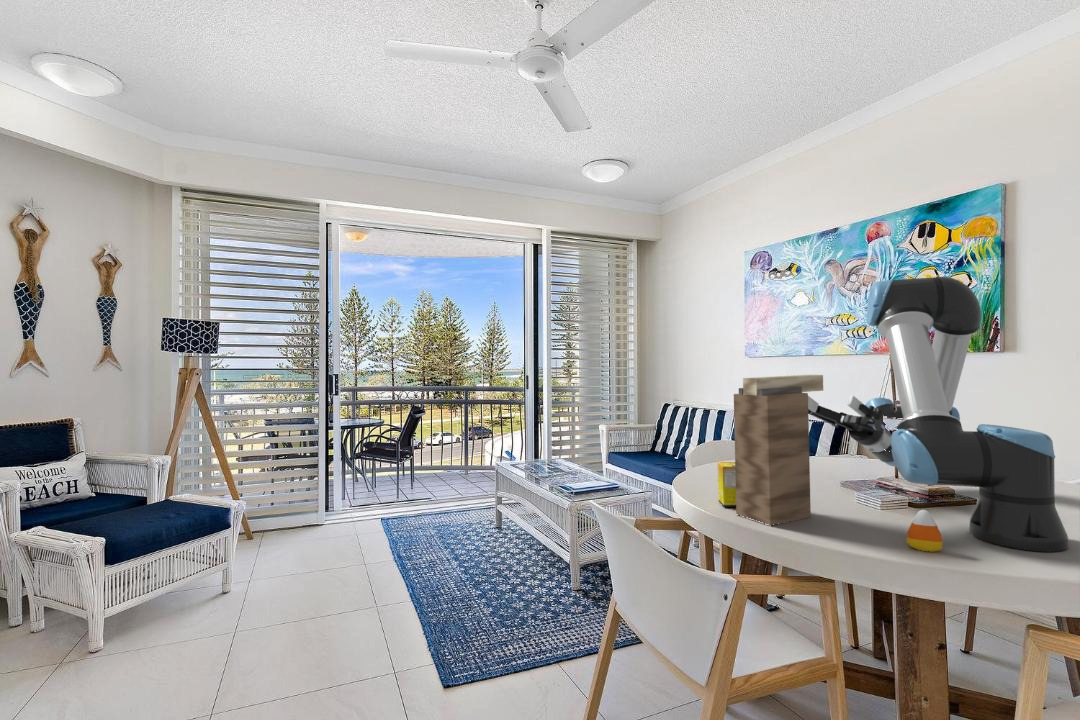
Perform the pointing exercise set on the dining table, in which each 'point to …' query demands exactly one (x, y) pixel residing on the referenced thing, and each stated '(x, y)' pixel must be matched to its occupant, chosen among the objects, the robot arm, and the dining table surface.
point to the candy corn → (924, 533)
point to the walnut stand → (772, 455)
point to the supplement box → (727, 484)
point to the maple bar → (783, 383)
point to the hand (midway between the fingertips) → (825, 398)
